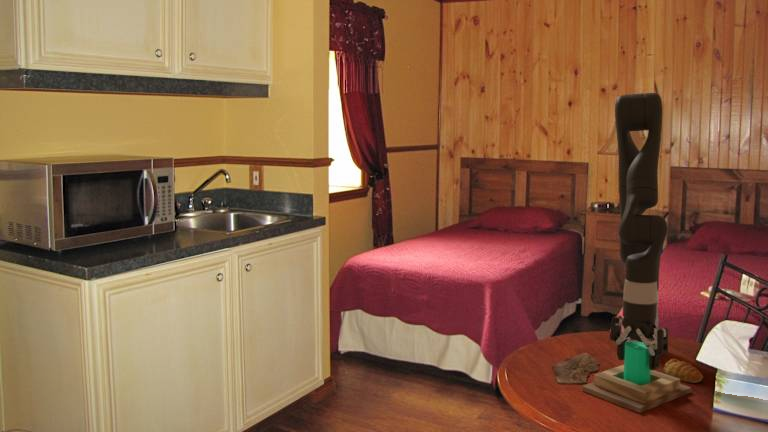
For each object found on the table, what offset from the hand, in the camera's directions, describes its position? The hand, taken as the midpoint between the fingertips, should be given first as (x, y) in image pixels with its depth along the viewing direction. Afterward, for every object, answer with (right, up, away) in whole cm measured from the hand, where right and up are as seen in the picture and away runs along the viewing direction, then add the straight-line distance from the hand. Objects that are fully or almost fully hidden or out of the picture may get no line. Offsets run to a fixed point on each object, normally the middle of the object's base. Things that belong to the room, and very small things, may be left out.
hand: (637, 364), depth 166 cm
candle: (0, -6, +1) cm, 6 cm away
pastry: (+15, -6, +11) cm, 20 cm away
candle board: (0, -7, +1) cm, 7 cm away
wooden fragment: (-10, -5, +17) cm, 20 cm away
